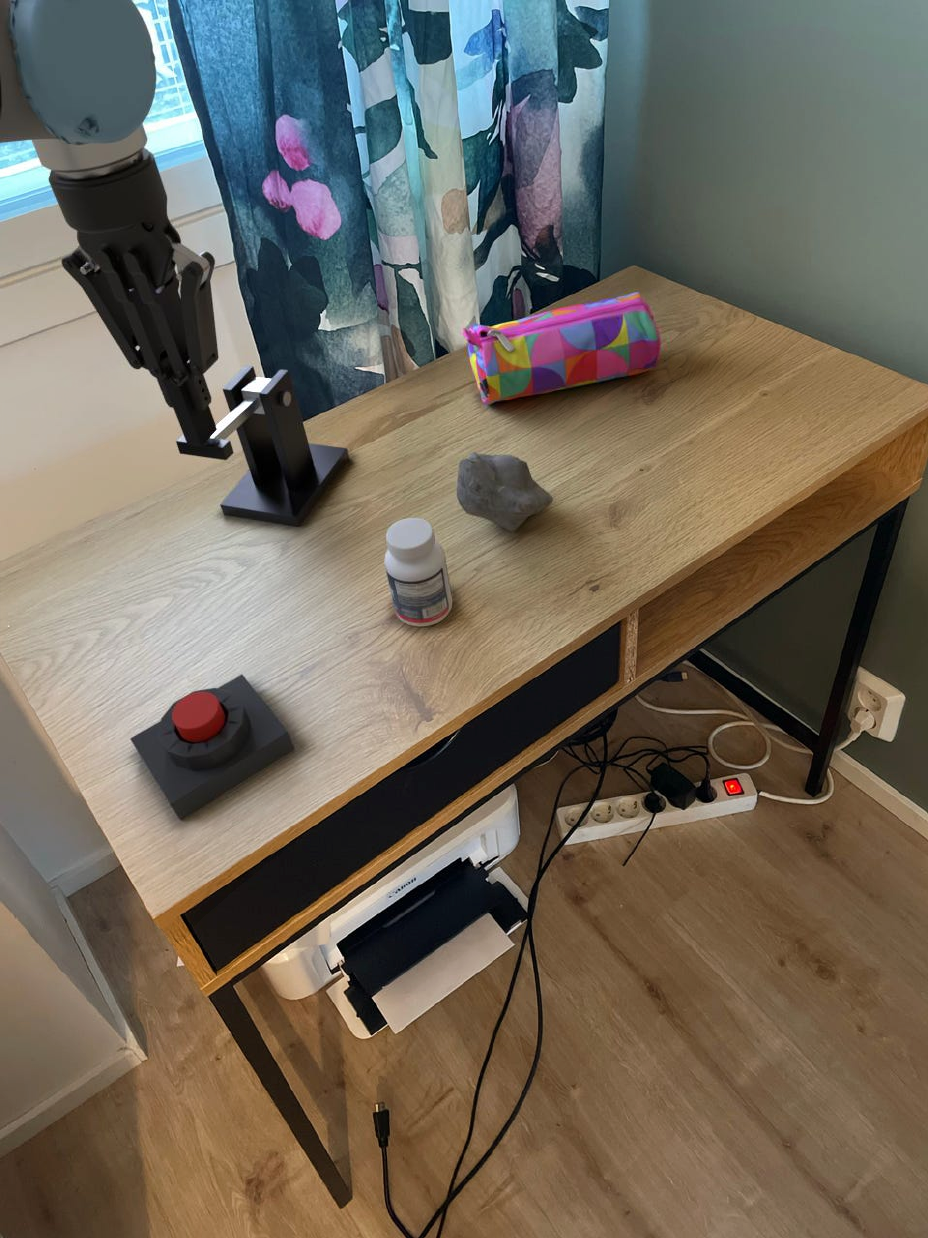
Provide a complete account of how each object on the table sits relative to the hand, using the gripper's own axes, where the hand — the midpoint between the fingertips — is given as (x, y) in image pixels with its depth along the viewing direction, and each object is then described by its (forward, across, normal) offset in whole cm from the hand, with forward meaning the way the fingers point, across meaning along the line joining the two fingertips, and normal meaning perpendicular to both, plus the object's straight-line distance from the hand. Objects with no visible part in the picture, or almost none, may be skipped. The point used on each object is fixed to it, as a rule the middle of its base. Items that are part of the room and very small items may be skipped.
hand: (202, 436), depth 80 cm
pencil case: (+13, -23, -34) cm, 44 cm away
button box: (+13, -11, +23) cm, 29 cm away
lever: (+3, 0, -5) cm, 6 cm away
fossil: (+13, -24, -9) cm, 29 cm away
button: (+9, -11, +23) cm, 27 cm away
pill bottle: (+13, -21, +4) cm, 25 cm away
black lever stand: (+13, 0, -10) cm, 16 cm away
